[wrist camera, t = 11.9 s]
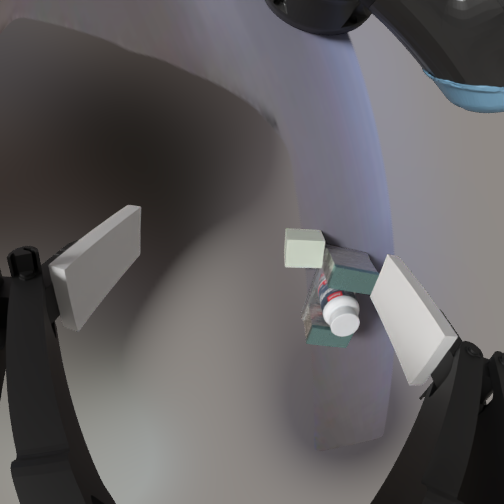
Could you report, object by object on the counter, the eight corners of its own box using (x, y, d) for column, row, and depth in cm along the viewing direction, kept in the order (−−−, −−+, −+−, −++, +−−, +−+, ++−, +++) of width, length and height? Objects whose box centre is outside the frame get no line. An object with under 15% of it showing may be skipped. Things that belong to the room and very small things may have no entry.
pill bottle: (333, 267, 41) (347, 302, 33) (356, 285, 42) (372, 321, 34) (310, 291, 43) (317, 329, 35) (333, 307, 44) (344, 345, 36)
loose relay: (285, 228, 40) (287, 239, 36) (320, 229, 40) (325, 241, 36) (283, 253, 42) (285, 266, 38) (317, 255, 41) (321, 268, 38)
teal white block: (324, 243, 40) (333, 266, 34) (366, 252, 40) (382, 275, 34) (300, 314, 46) (304, 343, 40) (339, 319, 46) (347, 348, 40)
